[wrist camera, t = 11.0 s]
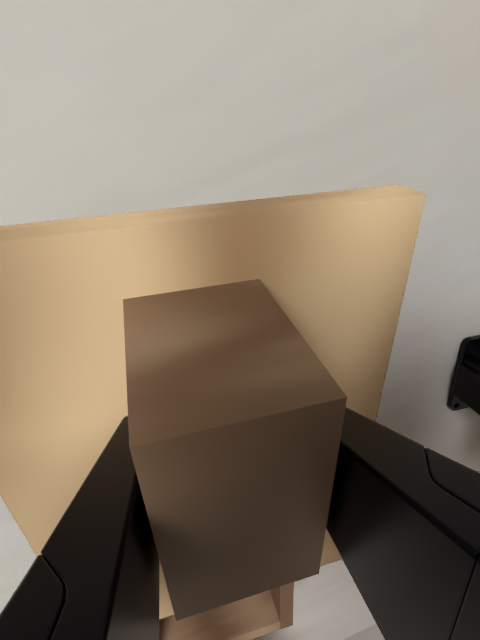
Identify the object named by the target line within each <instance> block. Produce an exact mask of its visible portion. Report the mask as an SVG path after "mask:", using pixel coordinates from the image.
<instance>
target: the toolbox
mask: <svg viewBox="0 0 480 640" xmlns="http://www.w3.org/2000/svg"><path fill="white" fill-rule="evenodd" d="M293 588H294V582H292V583H289V584H286V585H283V586H280V587H277V588H274V589H271V590H268V591H265V592H262V593H259V594H256V595H253V596H250V597H247V598H244V599H241V600H238V601H235V602H232V603H229V604H226V605H223V606H220V607H217V608H214V609H211V610H208V611H205V612H202V613H199V614H196V615H193V616H190V617H187V618H184V619H181V620H178V621H176V619H175V615H171V616H168V617H165V618H162V619H159V640H255V638H257V637H260V636H263V635H265V634H268V633H271V632H274V631H277V630H280V629H283V628H285V627H288V626H291V625H293Z"/></svg>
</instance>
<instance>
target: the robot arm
mask: <svg viewBox="0 0 480 640" xmlns="http://www.w3.org/2000/svg"><path fill="white" fill-rule="evenodd" d="M448 407H449V408H450V409H451V410H453V411H456V410H460V409H464V408H468V407H470V408H471V409H472V410H473V411H475V412H476V413H477V414H479V415H480V335H478V336H473V337H468V338H466V339H465V340H464V341H463V342H462V344H461V349H460V353H459V357H458V361H457V366H456V370H455V374H454V379H453V383H452V387H451V392H450V396H449V400H448ZM326 529H327V531H328V533H329V534H330V536H331V538H332V540H333V542H334V544H335V546H336V548H337V550H338V551H339V553H340V555H341V557H342V559H343V561H344V563H345V565H346V567H347V569H348V570H349V572H350V574H351V576H352V578H353V580H354V582H355V584H356V586H357V587H358V589H359V591H360V593H361V595H362V597H363V599H364V601H365V603H366V604H367V606H368V608H369V610H370V612H371V614H372V616H373V618H374V620H375V622H376V623H377V625H378V627H379V629H380V631H381V633H382V635H383V637H384V638H385V640H480V473H479V472H476V471H474V470H472V469H470V468H468V467H466V466H464V465H461V464H459V463H457V462H455V461H453V460H451V459H449V458H447V457H445V456H443V455H441V454H439V453H437V452H435V451H433V450H431V449H429V448H424V446H423V445H421V444H419V443H417V442H415V441H413V440H411V439H409V438H407V437H405V436H403V435H401V434H399V433H397V432H395V431H393V430H391V429H389V428H387V427H385V426H383V425H381V424H379V423H377V422H375V421H373V420H371V419H369V418H367V417H365V416H363V415H361V414H359V413H357V412H355V411H353V410H351V409H349V408H347V407H346V408H345V414H344V421H343V427H342V433H341V439H340V445H339V452H338V458H337V464H336V470H335V476H334V482H333V489H332V495H331V501H330V507H329V513H328V520H327V526H326ZM0 640H159V556H158V552H157V548H156V544H155V541H154V537H153V533H152V530H151V526H150V522H149V519H148V515H147V511H146V507H145V504H144V500H143V496H142V493H141V489H140V485H139V482H138V478H137V474H136V470H135V467H134V463H133V459H132V456H131V452H130V448H129V428H128V416H125V417H124V418H123V419H122V421H121V422H120V424H119V426H118V427H117V429H116V430H115V432H114V434H113V435H112V437H111V438H110V440H109V442H108V443H107V445H106V447H105V448H104V450H103V451H102V453H101V455H100V456H99V458H98V459H97V461H96V463H95V464H94V466H93V468H92V469H91V471H90V472H89V474H88V476H87V477H86V479H85V480H84V482H83V484H82V485H81V487H80V489H79V490H78V492H77V493H76V495H75V497H74V498H73V500H72V501H71V503H70V505H69V506H68V508H67V510H66V511H65V513H64V514H63V516H62V518H61V519H60V521H59V522H58V524H57V526H56V527H55V529H54V531H53V532H52V534H51V535H50V537H49V539H48V540H47V542H46V543H45V545H44V547H43V548H42V550H41V555H38V556H37V558H36V559H35V561H34V562H33V564H32V566H31V567H30V569H29V571H28V572H27V574H26V575H25V577H24V579H23V580H22V582H21V583H20V585H19V586H18V588H17V589H16V591H15V592H14V594H13V595H12V597H11V598H10V600H9V602H8V603H7V605H6V606H5V608H4V609H3V611H2V612H1V614H0Z"/></svg>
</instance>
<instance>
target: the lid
mask: <svg viewBox="0 0 480 640" xmlns="http://www.w3.org/2000/svg"><path fill="white" fill-rule="evenodd" d="M425 197H426V194H425V193H422V192H419V191H416V190H413V189H410V188H408V187H405V186H402V185H391V186H381V187H372V188H362V189H353V190H343V191H333V192H324V193H314V194H304V195H295V196H285V197H276V198H266V199H256V200H247V201H237V202H228V203H218V204H208V205H199V206H189V207H180V208H170V209H160V210H151V211H141V212H132V213H122V214H112V215H103V216H93V217H83V218H74V219H64V220H55V221H45V222H35V223H26V224H16V225H7V226H0V496H1V497H2V499H3V501H4V502H5V504H6V506H7V507H8V509H9V511H10V513H11V514H12V516H13V518H14V519H15V521H16V523H17V524H18V526H19V528H20V529H21V531H22V533H23V534H24V536H25V538H26V539H27V541H28V543H29V545H30V546H31V548H32V550H33V551H34V553H35V555H36V556H38V555H41V550H42V548H43V547H44V545H45V543H46V542H47V540H48V539H49V537H50V535H51V534H52V532H53V531H54V529H55V527H56V526H57V524H58V522H59V521H60V519H61V518H62V516H63V514H64V513H65V511H66V510H67V508H68V506H69V505H70V503H71V501H72V500H73V498H74V497H75V495H76V493H77V492H78V490H79V489H80V487H81V485H82V484H83V482H84V480H85V479H86V477H87V476H88V474H89V472H90V471H91V469H92V468H93V466H94V464H95V463H96V461H97V459H98V458H99V456H100V455H101V453H102V451H103V450H104V448H105V447H106V445H107V443H108V442H109V440H110V438H111V437H112V435H113V434H114V432H115V430H116V429H117V427H118V426H119V424H120V422H121V421H122V419H123V418H124V417H125V416H128V428H129V448H130V452H131V456H132V459H133V463H134V467H135V470H136V474H137V478H138V482H139V485H140V489H141V493H142V496H143V500H144V504H145V507H146V511H147V515H148V519H149V522H150V526H151V530H152V533H153V537H154V541H155V544H156V548H157V552H158V556H159V619H162V618H165V617H168V616H171V615H175V619H176V621H178V620H181V619H184V618H187V617H190V616H193V615H196V614H199V613H202V612H205V611H208V610H211V609H214V608H217V607H220V606H223V605H226V604H229V603H232V602H235V601H238V600H241V599H244V598H247V597H250V596H253V595H256V594H259V593H262V592H265V591H268V590H271V589H274V588H277V587H280V586H283V585H286V584H289V583H292V582H295V581H298V580H301V579H304V578H307V577H310V576H313V575H316V574H319V569H320V566H323V565H326V564H329V563H332V562H335V561H338V560H341V559H342V557H341V555H340V553H339V551H338V550H337V548H336V546H335V544H334V542H333V540H332V538H331V536H330V534H329V533H328V531H327V529H326V526H327V520H328V513H329V507H330V501H331V495H332V489H333V482H334V476H335V470H336V464H337V458H338V452H339V445H340V439H341V433H342V427H343V421H344V414H345V408H346V407H347V408H349V409H351V410H353V411H355V412H357V413H359V414H361V415H363V416H365V417H367V418H369V419H371V420H373V421H376V416H377V412H378V407H379V403H380V398H381V394H382V389H383V385H384V380H385V376H386V372H387V367H388V363H389V358H390V354H391V349H392V345H393V340H394V336H395V331H396V327H397V322H398V318H399V313H400V309H401V305H402V300H403V296H404V291H405V287H406V282H407V278H408V273H409V269H410V264H411V260H412V255H413V251H414V246H415V242H416V238H417V233H418V229H419V224H420V220H421V215H422V211H423V206H424V202H425Z"/></svg>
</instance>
